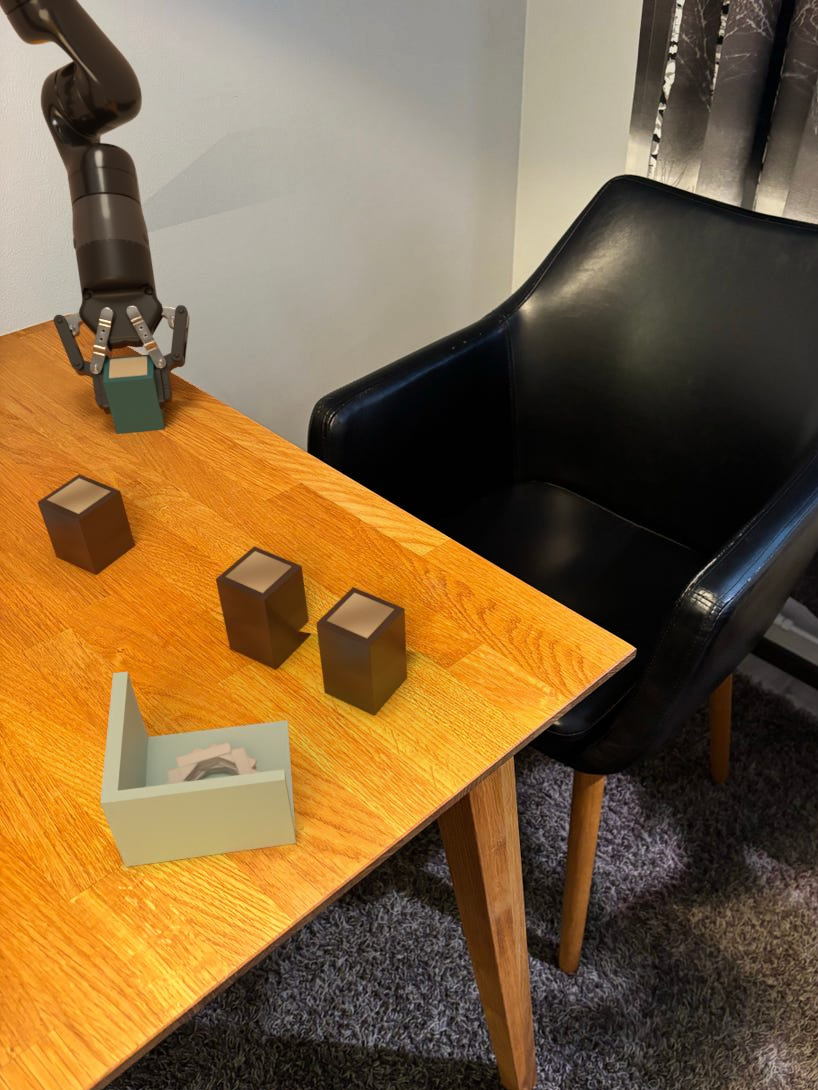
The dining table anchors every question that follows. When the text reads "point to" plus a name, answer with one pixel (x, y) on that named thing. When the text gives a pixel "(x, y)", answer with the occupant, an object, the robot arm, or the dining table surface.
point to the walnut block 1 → (87, 523)
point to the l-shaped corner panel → (193, 786)
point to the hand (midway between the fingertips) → (135, 408)
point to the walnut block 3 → (363, 650)
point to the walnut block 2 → (264, 606)
